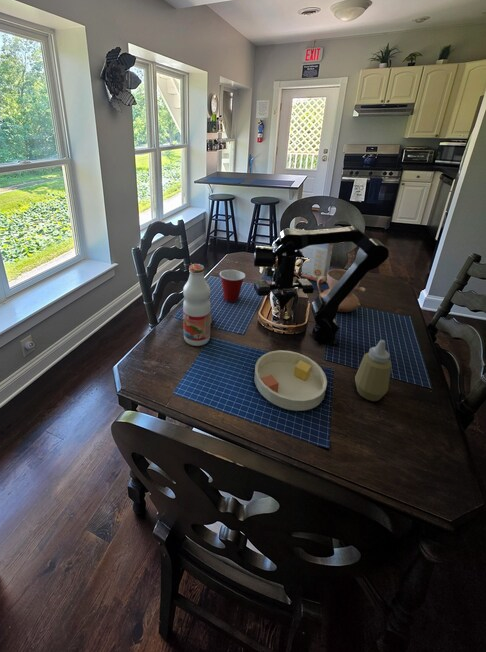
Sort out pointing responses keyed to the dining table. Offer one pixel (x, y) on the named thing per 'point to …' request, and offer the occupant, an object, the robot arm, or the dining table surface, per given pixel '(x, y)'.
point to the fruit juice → (196, 307)
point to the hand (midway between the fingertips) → (280, 308)
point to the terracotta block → (271, 383)
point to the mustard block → (302, 370)
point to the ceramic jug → (332, 279)
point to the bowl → (290, 381)
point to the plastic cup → (231, 284)
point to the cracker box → (316, 261)
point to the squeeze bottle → (374, 373)
